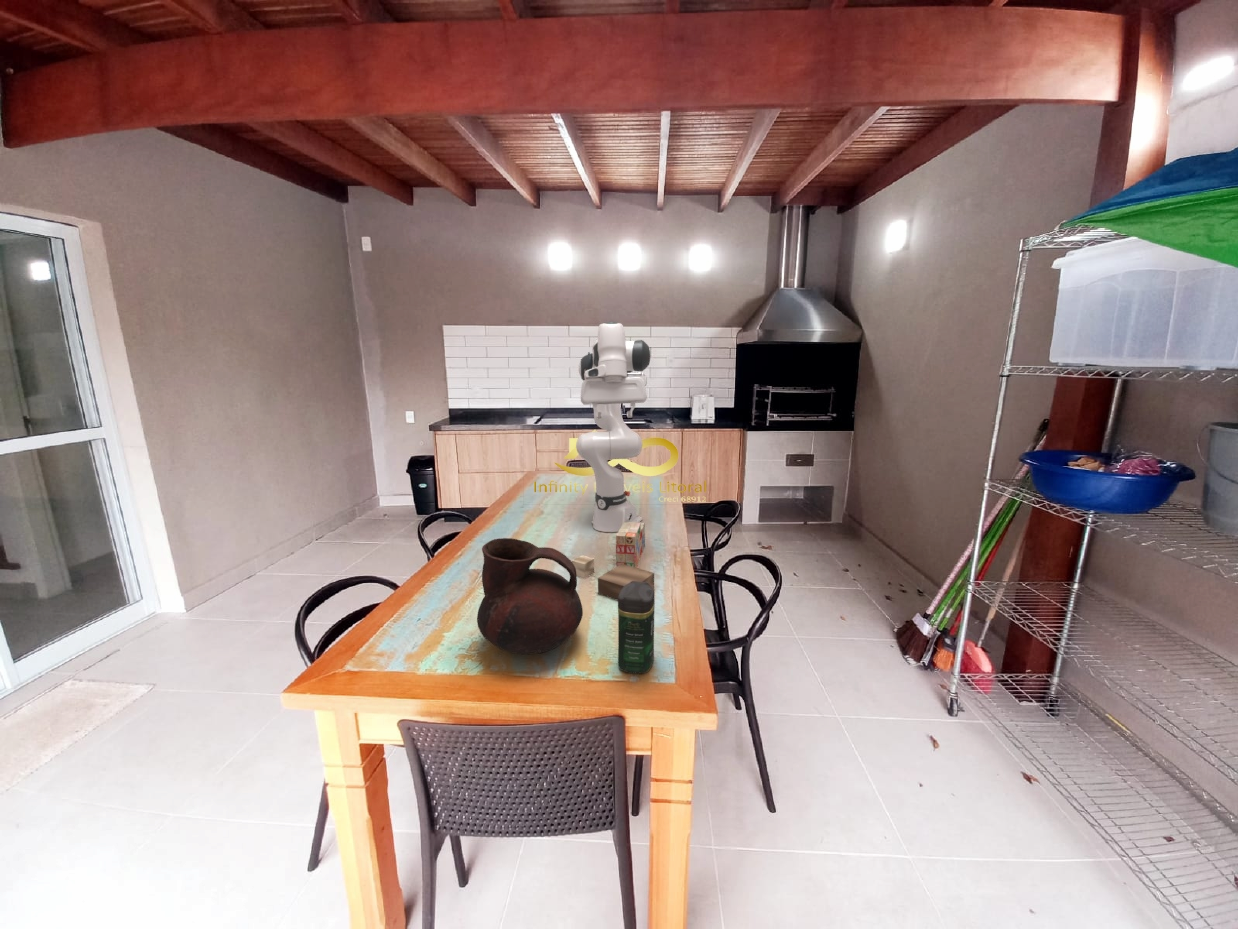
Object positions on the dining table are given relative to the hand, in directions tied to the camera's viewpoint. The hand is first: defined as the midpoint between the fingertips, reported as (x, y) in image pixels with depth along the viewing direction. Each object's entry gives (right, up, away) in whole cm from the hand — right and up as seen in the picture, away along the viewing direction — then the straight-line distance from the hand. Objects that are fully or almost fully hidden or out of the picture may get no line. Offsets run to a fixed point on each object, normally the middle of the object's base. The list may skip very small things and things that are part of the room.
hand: (614, 417), depth 150 cm
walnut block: (+4, -52, -5) cm, 52 cm away
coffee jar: (+5, -60, -38) cm, 71 cm away
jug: (-20, -58, -29) cm, 68 cm away
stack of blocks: (+6, -47, +19) cm, 51 cm away
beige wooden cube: (-10, -49, +7) cm, 51 cm away
